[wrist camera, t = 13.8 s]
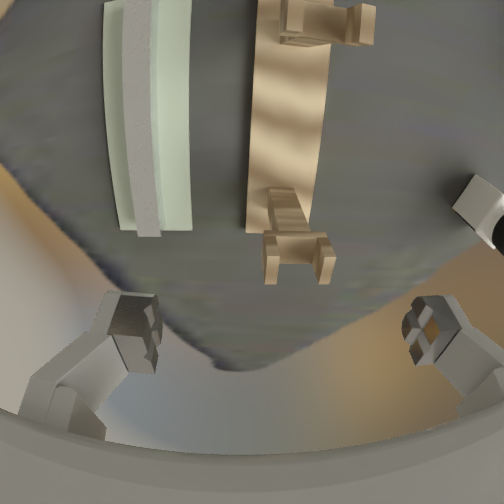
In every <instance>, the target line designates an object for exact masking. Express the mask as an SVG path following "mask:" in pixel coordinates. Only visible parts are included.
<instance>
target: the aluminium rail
mask: <svg viewBox="0 0 504 504" xmlns="http://www.w3.org/2000/svg"><path fill="white" fill-rule="evenodd" d="M158 16H159V1H158V0H128V1H124V8H123V31H122V82H123V107H124V123H125V137H126V148H127V159H128V168H129V177H130V185H131V193H132V200H133V207H134V214H135V221H136V227H137V233H138V237H161V235H162V233H163V230H164V227H165V225H166V223H165V213H164V203H163V192H162V180H161V166H160V150H159V130H158V100H157V45H158Z"/></svg>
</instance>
